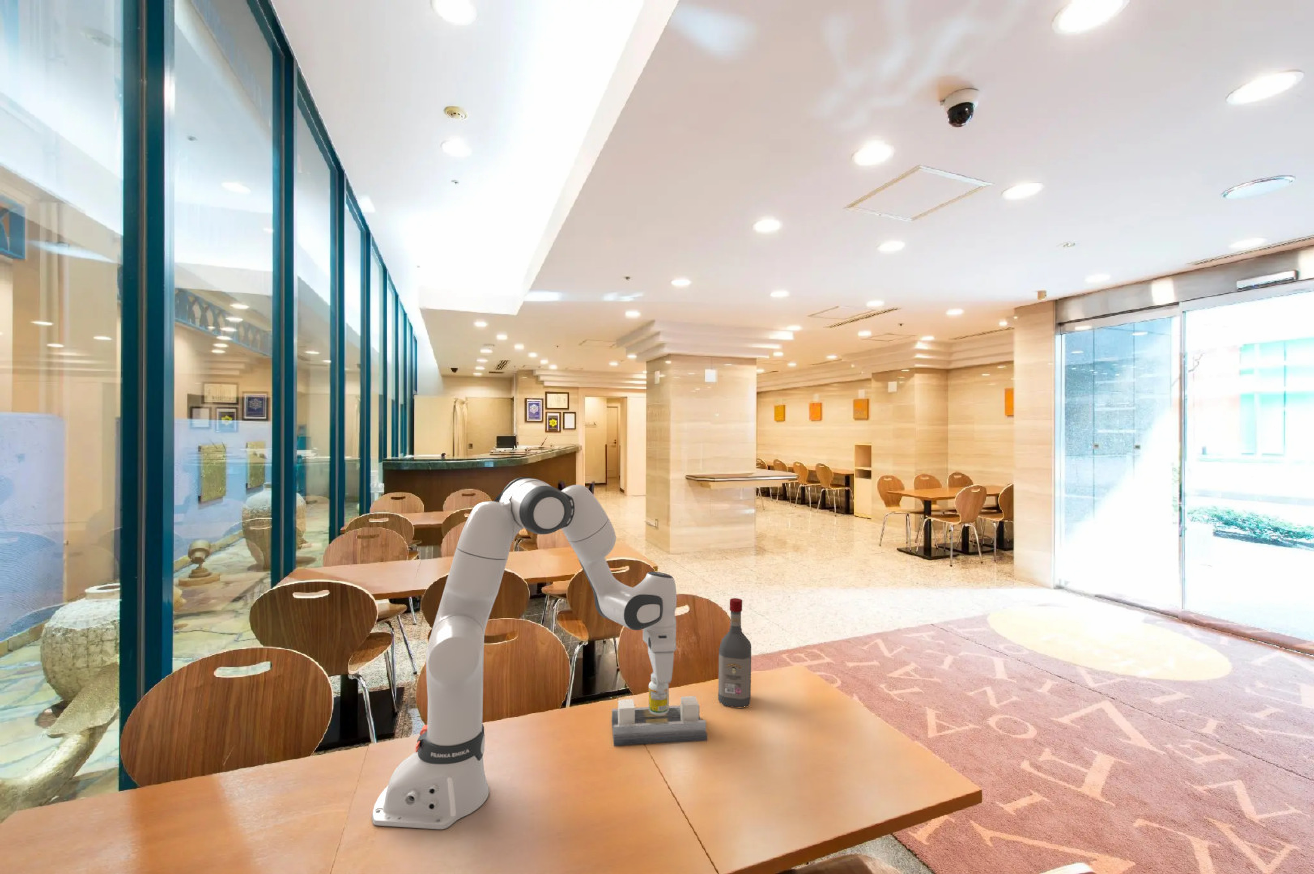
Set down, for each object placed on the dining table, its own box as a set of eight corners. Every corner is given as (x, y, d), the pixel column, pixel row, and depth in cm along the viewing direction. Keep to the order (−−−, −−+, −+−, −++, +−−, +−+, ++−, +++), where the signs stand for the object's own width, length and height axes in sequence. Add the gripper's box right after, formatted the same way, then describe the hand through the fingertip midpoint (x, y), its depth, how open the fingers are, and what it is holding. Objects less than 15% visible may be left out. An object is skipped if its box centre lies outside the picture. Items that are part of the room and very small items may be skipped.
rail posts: (619, 731, 138) (619, 708, 138) (617, 722, 143) (618, 699, 143) (698, 727, 141) (698, 704, 141) (694, 718, 146) (695, 695, 146)
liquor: (749, 710, 154) (750, 605, 154) (717, 705, 156) (718, 602, 156) (750, 695, 163) (752, 596, 163) (720, 691, 165) (722, 594, 165)
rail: (613, 745, 134) (614, 729, 134) (611, 721, 146) (611, 706, 146) (707, 740, 138) (707, 724, 138) (697, 716, 150) (697, 702, 150)
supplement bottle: (664, 717, 138) (663, 680, 138) (645, 713, 141) (644, 676, 141) (672, 707, 143) (671, 672, 143) (654, 704, 146) (653, 668, 146)
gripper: (643, 620, 152) (642, 669, 152) (652, 647, 132) (651, 704, 132) (665, 619, 153) (664, 668, 153) (677, 647, 133) (676, 703, 132)
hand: (658, 685), depth 142 cm, fingers closed on supplement bottle, 5 cm apart
